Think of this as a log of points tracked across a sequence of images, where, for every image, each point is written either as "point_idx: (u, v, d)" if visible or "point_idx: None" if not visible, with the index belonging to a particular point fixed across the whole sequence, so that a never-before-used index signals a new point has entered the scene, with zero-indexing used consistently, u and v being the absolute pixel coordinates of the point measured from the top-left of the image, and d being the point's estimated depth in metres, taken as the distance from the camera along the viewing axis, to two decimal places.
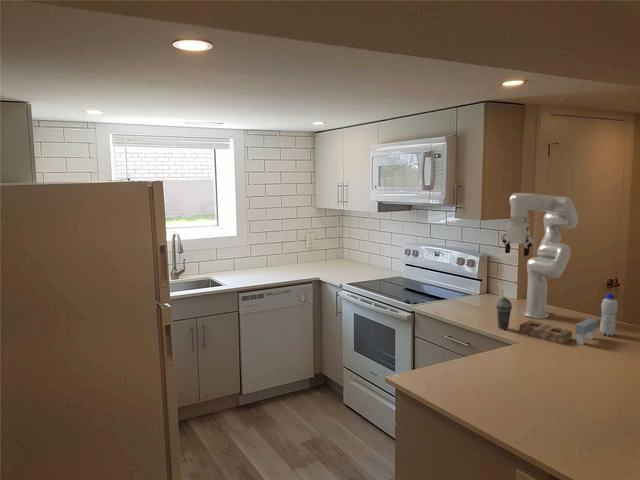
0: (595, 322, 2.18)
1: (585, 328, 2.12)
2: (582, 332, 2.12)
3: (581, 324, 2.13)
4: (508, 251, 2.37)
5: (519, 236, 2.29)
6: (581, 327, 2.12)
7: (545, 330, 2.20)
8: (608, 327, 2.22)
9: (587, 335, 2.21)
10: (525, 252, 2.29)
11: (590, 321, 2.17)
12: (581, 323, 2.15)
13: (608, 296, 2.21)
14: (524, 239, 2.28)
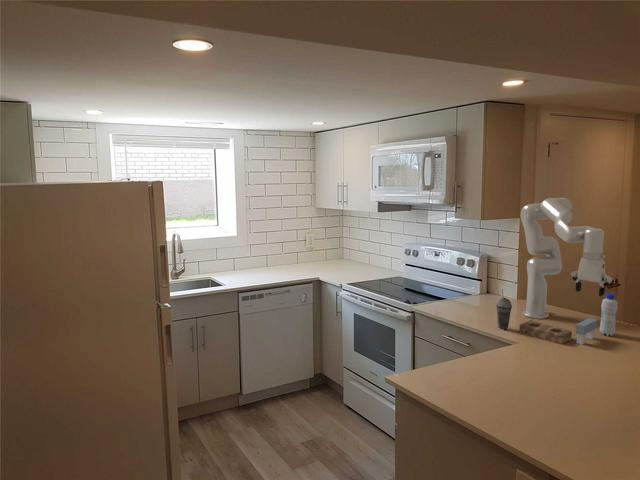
0: (595, 322, 2.18)
1: (585, 328, 2.12)
2: (582, 332, 2.12)
3: (581, 324, 2.13)
4: (579, 289, 2.17)
5: (594, 274, 2.09)
6: (581, 327, 2.12)
7: (545, 330, 2.20)
8: (608, 327, 2.22)
9: (587, 335, 2.21)
10: (601, 292, 2.09)
11: (590, 321, 2.17)
12: (581, 323, 2.15)
13: (608, 296, 2.21)
14: (600, 278, 2.08)
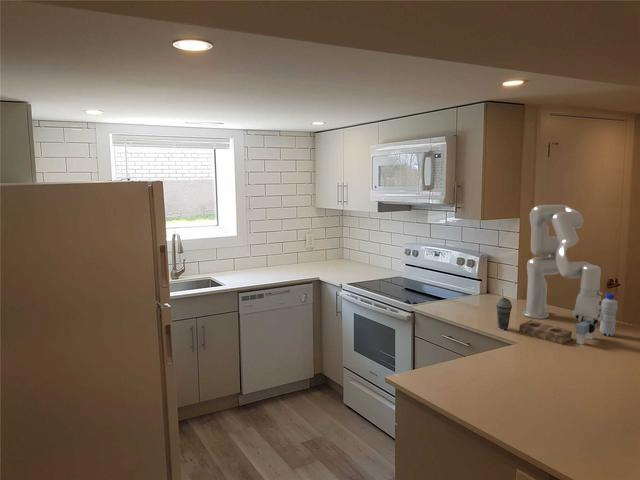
0: None
1: (585, 328, 2.12)
2: (582, 332, 2.12)
3: (581, 324, 2.13)
4: None
5: (591, 310, 2.12)
6: (581, 327, 2.12)
7: (545, 330, 2.20)
8: (608, 327, 2.22)
9: (587, 335, 2.21)
10: (590, 329, 2.14)
11: (590, 321, 2.17)
12: (581, 323, 2.15)
13: (608, 296, 2.21)
14: (597, 314, 2.11)
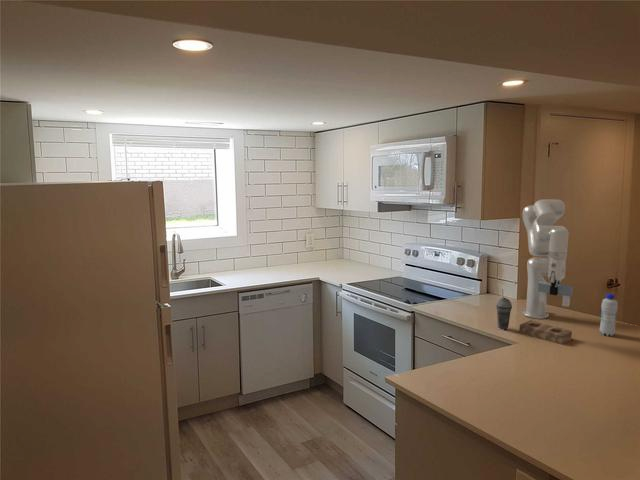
0: (565, 289, 2.15)
1: (542, 286, 2.22)
2: None
3: (543, 282, 2.23)
4: None
5: None
6: None
7: (545, 330, 2.20)
8: (608, 327, 2.22)
9: None
10: (550, 290, 2.19)
11: (559, 285, 2.18)
12: (546, 282, 2.23)
13: (608, 296, 2.21)
14: (548, 275, 2.16)
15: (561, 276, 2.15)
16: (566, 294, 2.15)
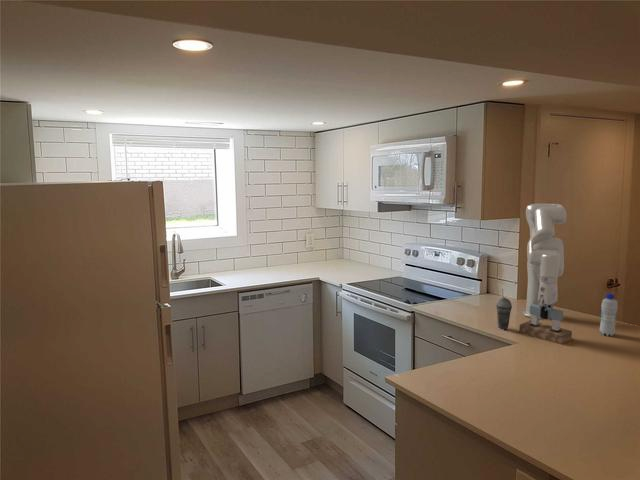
0: (554, 313, 2.18)
1: (533, 308, 2.26)
2: None
3: (535, 305, 2.27)
4: None
5: None
6: None
7: (545, 330, 2.20)
8: (608, 327, 2.22)
9: None
10: (541, 313, 2.22)
11: (549, 309, 2.21)
12: (538, 306, 2.26)
13: (608, 296, 2.21)
14: (538, 298, 2.20)
15: (551, 300, 2.18)
16: (555, 318, 2.18)
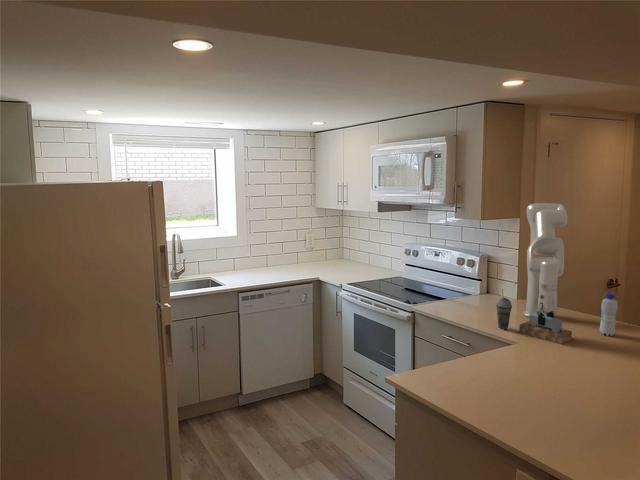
0: (554, 322, 2.19)
1: (532, 317, 2.27)
2: None
3: (534, 314, 2.28)
4: None
5: None
6: None
7: (545, 330, 2.20)
8: (608, 327, 2.22)
9: None
10: (538, 320, 2.22)
11: (549, 318, 2.21)
12: None
13: (608, 296, 2.21)
14: (537, 306, 2.21)
15: (550, 308, 2.19)
16: (554, 328, 2.19)
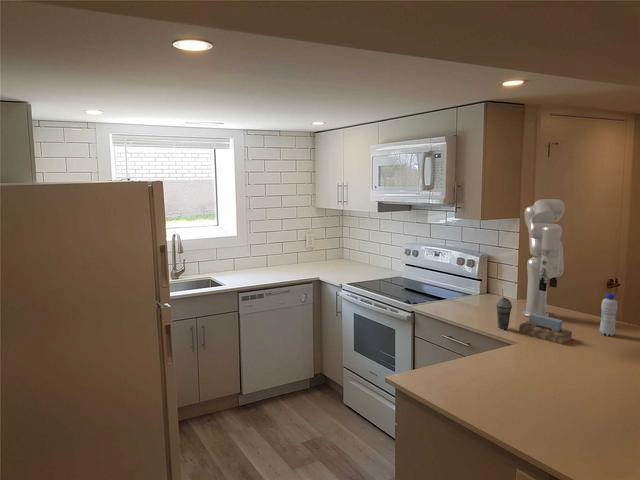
0: (554, 322, 2.19)
1: (532, 318, 2.27)
2: None
3: (534, 314, 2.28)
4: (552, 285, 2.24)
5: None
6: None
7: (545, 330, 2.20)
8: (608, 327, 2.22)
9: None
10: (540, 286, 2.19)
11: (548, 318, 2.21)
12: (538, 315, 2.27)
13: (608, 296, 2.21)
14: (540, 272, 2.18)
15: (552, 274, 2.16)
16: (554, 328, 2.19)
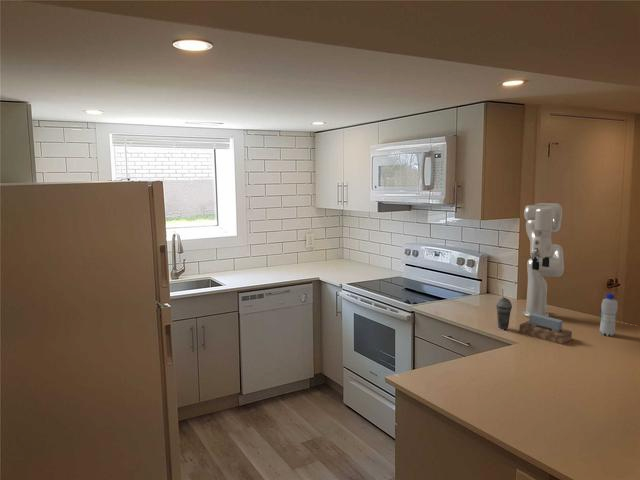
0: (554, 322, 2.19)
1: (532, 318, 2.27)
2: None
3: (534, 314, 2.28)
4: (545, 265, 2.33)
5: None
6: None
7: (545, 330, 2.20)
8: (608, 327, 2.22)
9: None
10: (533, 265, 2.28)
11: (548, 318, 2.21)
12: (538, 315, 2.27)
13: (608, 296, 2.21)
14: None
15: (545, 253, 2.26)
16: (554, 328, 2.19)
